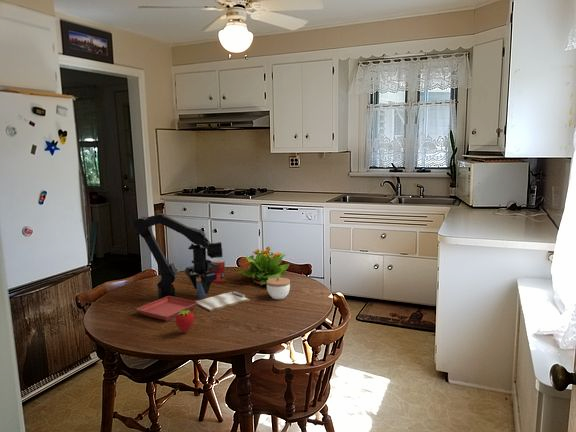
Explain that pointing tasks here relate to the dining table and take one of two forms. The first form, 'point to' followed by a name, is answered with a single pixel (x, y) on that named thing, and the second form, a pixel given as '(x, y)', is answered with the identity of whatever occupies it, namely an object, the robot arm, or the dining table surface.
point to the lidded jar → (278, 287)
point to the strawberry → (185, 320)
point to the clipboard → (222, 301)
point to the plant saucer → (166, 307)
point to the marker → (200, 288)
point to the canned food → (219, 269)
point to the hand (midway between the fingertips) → (201, 291)
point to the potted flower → (264, 266)
